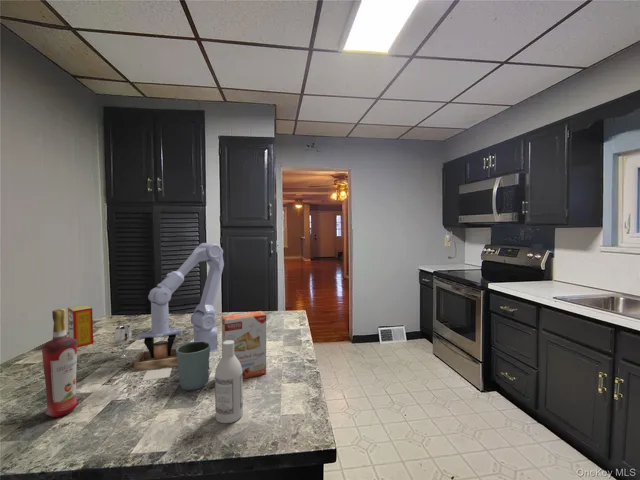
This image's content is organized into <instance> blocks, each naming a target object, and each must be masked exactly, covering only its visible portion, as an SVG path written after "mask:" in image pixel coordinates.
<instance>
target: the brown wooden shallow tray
mask: <svg viewBox="0 0 640 480" xmlns="http://www.w3.org/2000/svg"><path fill="white" fill-rule="evenodd" d="M176 349H177V347H172V349H171V355H170V356H169V358H167V359H159V360H154V358H151V355H150V352H149V350H144V351H141V352H140V354H139V355H138V356H137V358H136V360H135V362H134V363H133V365H134V367H133V368H134V370H133V371H134V373H135V372H140V371H142V372H143V371H151V370H158V369H166V368H173V367H178V366H179V365H178V362H177V355H176Z"/></svg>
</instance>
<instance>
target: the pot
mask: <svg viewBox="0 0 640 480" xmlns="http://www.w3.org/2000/svg"><path fill="white" fill-rule="evenodd" d="M153 355H154V360H159V359H167V358H169V356H168V340H160V341H157V342H154V344H153Z"/></svg>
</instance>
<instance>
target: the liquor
mask: <svg viewBox="0 0 640 480" xmlns="http://www.w3.org/2000/svg"><path fill="white" fill-rule="evenodd" d="M65 319H66V309H65V308H60V309H55V310H52V321H53V327H52V329H53V330H52V339H51V340H48V341H47V342H46V343H45V344H43V345H42V346H41V352H42V353H41V355H42V365H43V373H44V374H43V376H44V381H45V382H44V383H45V391H46V410H45V411H44V413H45V415H47V416H49V417H52V418H60V417H64V416H66V415H68V414H70V413H71V412H72V411H73V410H74V409H75V408H76V407H78V405H79V402H78V400H77V365H78V347H77V340H76V339H74V338H71V337H69V336H68V334H67V328H66V322H65Z"/></svg>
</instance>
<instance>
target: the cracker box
mask: <svg viewBox="0 0 640 480" xmlns="http://www.w3.org/2000/svg"><path fill="white" fill-rule="evenodd" d="M227 340H232V341H234V355H235V356H236V358H237V359H238V360H239V362H240V364H241V367H242V380H244V379H248V378H252V377H257V376H261V375H262V376H263V375H266V374H267V314H265V313H264V312H263V311H262V310H259V311H251V312H250V311H249V312H242V313H241V312H240V313H235V314H234V313H233V314H226V315H222V316H221V358H222V357H223V342H224V341H227Z"/></svg>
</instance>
